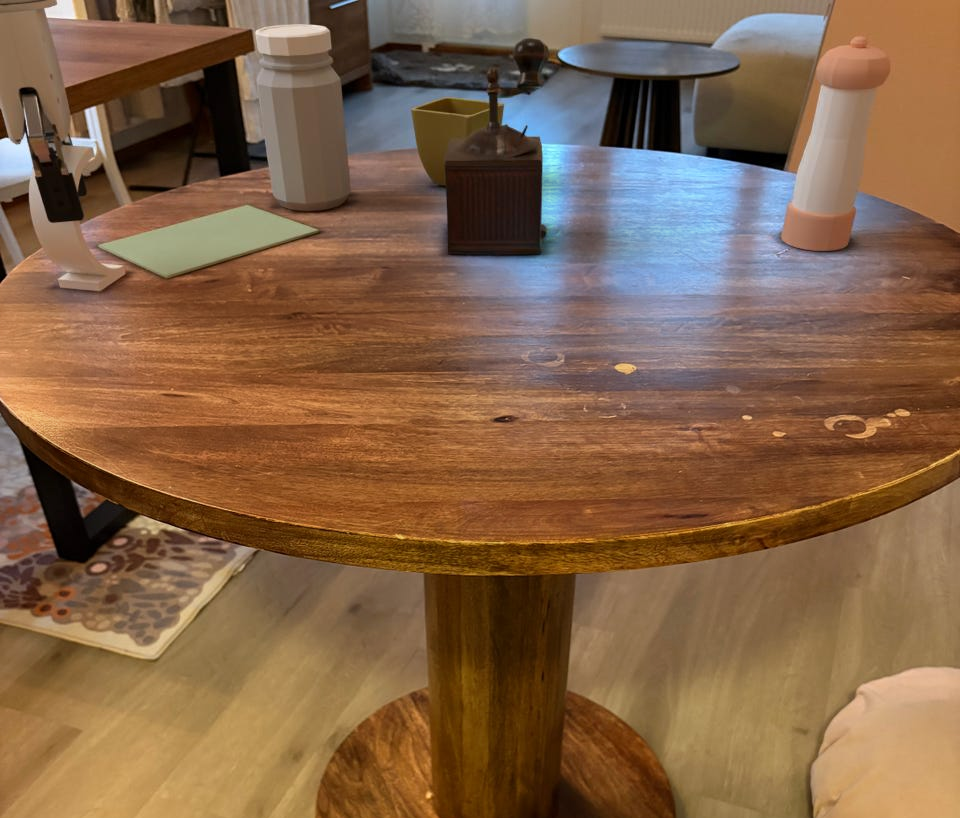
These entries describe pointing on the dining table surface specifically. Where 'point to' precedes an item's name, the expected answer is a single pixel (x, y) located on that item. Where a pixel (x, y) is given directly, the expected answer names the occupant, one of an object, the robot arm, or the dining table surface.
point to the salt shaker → (835, 148)
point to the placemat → (207, 240)
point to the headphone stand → (70, 235)
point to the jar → (302, 117)
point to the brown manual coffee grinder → (498, 174)
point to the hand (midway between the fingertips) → (68, 206)
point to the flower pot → (446, 129)
